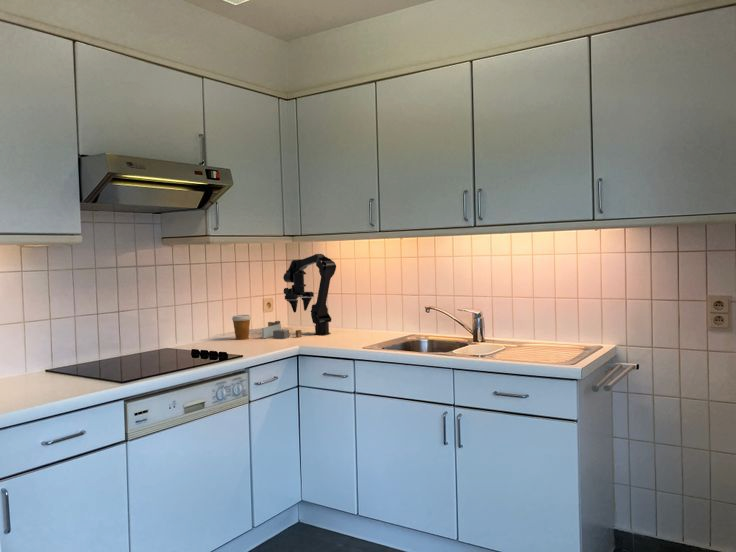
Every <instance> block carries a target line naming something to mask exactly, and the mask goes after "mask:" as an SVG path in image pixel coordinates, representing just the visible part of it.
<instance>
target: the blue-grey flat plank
mask: <svg viewBox="0 0 736 552" xmlns="http://www.w3.org/2000/svg"><path fill="white" fill-rule="evenodd" d="M275 330H282V324H281V323H280V324H277V325H273V326H269V327H268V326H264V327H261V338H262V339H267V338H270V337H271V338H272V337H273V331H275Z"/></svg>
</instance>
